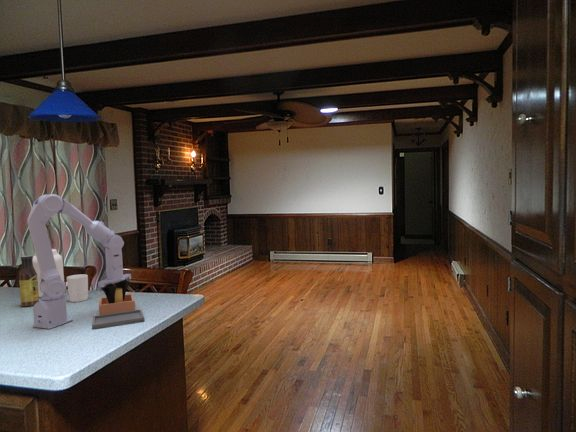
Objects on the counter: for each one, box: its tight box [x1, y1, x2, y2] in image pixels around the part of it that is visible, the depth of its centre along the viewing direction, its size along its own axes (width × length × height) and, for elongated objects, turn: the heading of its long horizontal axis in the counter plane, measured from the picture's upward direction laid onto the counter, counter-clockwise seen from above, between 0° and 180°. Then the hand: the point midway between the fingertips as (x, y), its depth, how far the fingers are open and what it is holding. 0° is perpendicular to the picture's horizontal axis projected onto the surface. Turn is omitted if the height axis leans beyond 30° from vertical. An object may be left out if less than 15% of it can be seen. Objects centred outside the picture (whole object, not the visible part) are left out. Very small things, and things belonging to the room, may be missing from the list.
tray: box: [91, 309, 145, 330], centre depth 142 cm, size 11×16×1 cm
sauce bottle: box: [18, 255, 40, 307], centre depth 167 cm, size 7×6×20 cm
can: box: [32, 248, 65, 299], centre depth 184 cm, size 12×12×20 cm
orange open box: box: [98, 293, 136, 315], centre depth 156 cm, size 12×12×4 cm
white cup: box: [66, 273, 89, 303], centre depth 172 cm, size 8×8×10 cm
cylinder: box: [115, 288, 123, 303], centre depth 155 cm, size 4×4×6 cm
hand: (116, 302), depth 155 cm, fingers closed on cylinder, 4 cm apart
